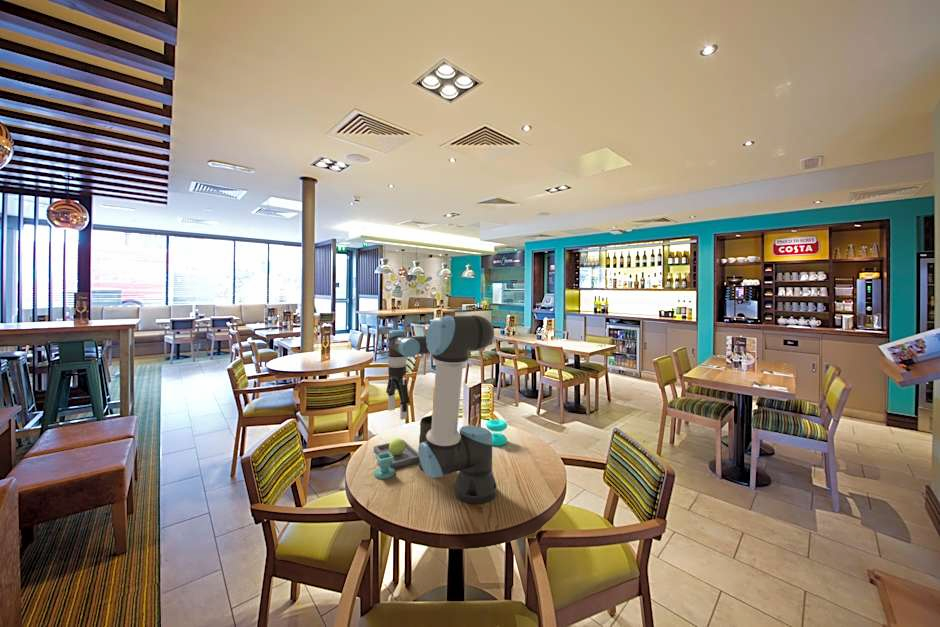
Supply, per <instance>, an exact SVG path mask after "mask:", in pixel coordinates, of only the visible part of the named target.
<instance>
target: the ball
mask: <svg viewBox="0 0 940 627" xmlns="http://www.w3.org/2000/svg"><path fill="white" fill-rule="evenodd" d="M403 440H404V439H402V438H397V437H396V438H394V439H392V440H391V441H389V443H390V444H389V451H390V452H391V454H393V455H400V454H402V453H403V452H404V450H405V443H404V441H405V440H404V441H403Z"/></svg>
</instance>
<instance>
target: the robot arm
mask: <svg viewBox="0 0 940 627" xmlns="http://www.w3.org/2000/svg"><path fill="white" fill-rule="evenodd" d="M494 337H495V329H494V326H493V324H492V323H491V321H490V320H489V319H487V318H486V317H483V316H481V315H477V314H476V315H445V316H438V317H435V318H434V319H433V320H432V321H431V322H430V323H429V325H428V327H427V329H426V335H425V336H424V335H421V336H420V335H418V336H407V332H406V330H405V329H392V330H389V331H388V336H387V341H388V348H387V349H388V353H387V354H388V355H387V365H388V368H387V369H388V372H387V373H388V381H387V386H386V394H387V396H388V397H387V398H388V406H387V408H388V411H389V412H390V411H395V410H396V404H395V403H396V401H395V400H396V396H395V395H396V391H397V393H398V396H399V400H400V403H399V405H400V406H399V409H400V410H399V412H400V418H399V419H400V420H406V419H408V404H410V402H411V401H410V396H409V391H408V385H407V379H404V378H403V377H404V376H406V375H407V359H408V358H413V357H416V356H417V355H419V356H421V355H427V354H428V355H429V354H431V358H432V359H433V360H434V362H436V364H435V375H434V376H435V377H434V389H433V390H434V391H433V402H432V415H431V416H432V426H431V430H429V431H428V432H427V434H426V442H422V443H420V445H418V449H417V452H418V454H419V459H420V463H421V466H422V468H423V470H424V471H423V470H422V471H423V472H424V474H426V476H427V477H429V478H430V479H431V478H432V479H435V478H439V477H440V478H441V477H443V476H446V475H450V474H453V473H457V472H458V475H457V479H456V482H455V483H454V495H455V497H456V498H458V500H460V501H461V502H464V503H468V504H475V505H476V504H478V505H479V504H485V503H488V502H491V501H492V500H493V499H495V498H496V496H497V486H498V485H497V482H496V480H495V476H494V474H493V446H494V445H493V441H492V434H491V433H492V431H491V430H489V429H488V428H485V427H483V426H482V427H481V426H477V425H465V426H461V427H460V429H459V431H458V425H459V415H460V414H459V412H460V401H461V390H462V380H463V379H462V378H463V370H464V369H463V367H464V364H465V363H466V362H468V361H469V354H470V352H476V351H481V350H484V349H486V348H488V347H489V346H490V345H491V344H492V342H493V341H494Z"/></svg>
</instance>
